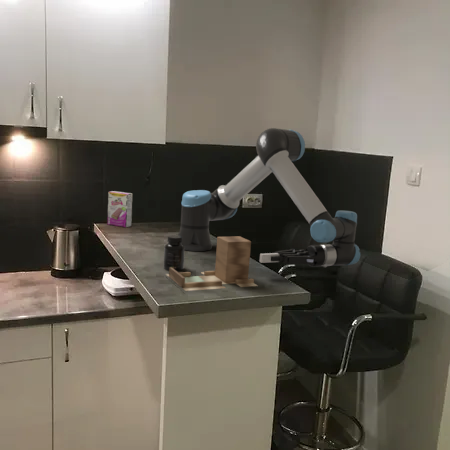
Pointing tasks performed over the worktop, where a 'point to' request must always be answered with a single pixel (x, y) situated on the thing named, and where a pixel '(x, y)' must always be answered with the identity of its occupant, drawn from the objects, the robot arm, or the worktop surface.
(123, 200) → the candy bar box
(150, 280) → the worktop surface
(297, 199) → the robot arm
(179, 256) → the supplement bottle
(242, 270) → the walnut block
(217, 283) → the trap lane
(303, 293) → the worktop surface
